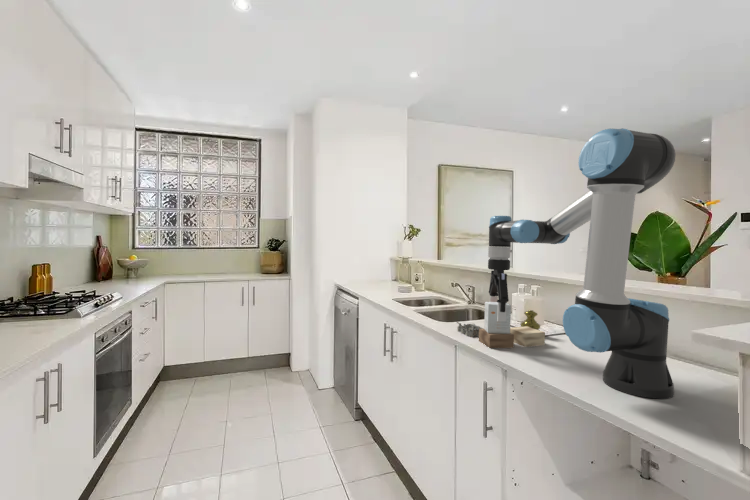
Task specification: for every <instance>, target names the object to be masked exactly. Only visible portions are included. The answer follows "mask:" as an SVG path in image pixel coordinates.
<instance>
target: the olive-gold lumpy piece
mask: <svg viewBox="0 0 750 500" xmlns="http://www.w3.org/2000/svg"><path fill="white" fill-rule="evenodd" d="M523 314H524V315H525V316H526V318H525V319H524V321H522V322H521V323H520V327H525V326H527V327H530V328H533V329H537V330H540V329H541V324H540V323H539V322H538V321H536V319H535V317H537V316H538V312H537V311H534V310H531V309H528V310H526V311H524V313H523Z"/></svg>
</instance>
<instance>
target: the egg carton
mask: <svg viewBox="0 0 750 500" xmlns="http://www.w3.org/2000/svg"><path fill="white" fill-rule="evenodd" d="M458 321H459V320H458ZM458 321H456V323H457V324H458V326H456V328H457V332H459V333H460V334H463V335H465V336H466V337H470V336H471V337H472V338H473V337H479V329H484V328H483V327H481V326H479V325H476V324H475V323H467V324H466V323H463V325H462V323H461V322H458ZM471 337H470V338H471Z"/></svg>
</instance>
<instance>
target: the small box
mask: <svg viewBox="0 0 750 500" xmlns="http://www.w3.org/2000/svg"><path fill="white" fill-rule="evenodd" d="M511 309H512V305H511V304H509V303H508V302H507V304H506V322H504V321H497V315H498V302H490V301H485V302H484V319H483V320H484V321H483V322H484V328H483V329H485V330H486V331H487V333H499V334H510V328H511V317H512V316H511V313H512V310H511Z"/></svg>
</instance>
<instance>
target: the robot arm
mask: <svg viewBox="0 0 750 500" xmlns="http://www.w3.org/2000/svg"><path fill="white" fill-rule="evenodd" d="M675 162H676V149H675V147H674V145H673V143H672V142H671V141H670V140H669V139H668V138H666V137H665V136H663V135H660V134H657V133H648V132H642V131H637V130H636V131H635V130H630V129H628V128H607V129H606V128H605V129H602V130H600V131H597V132H596V133H595V134H594V135H592V136H591V137H590V138H589V139H588V140H587V141H586V142H585V143H584V145H583V146H582V148H581V151H580V153H579V156H578V168H579V169H578V170H580V172H581V173H582V175H583V176H585V177H586V178H587V182H586V183H587V184H586V188H587V189H588V190H587V192H585V193H584V194H582V195H581V196H579V197H578V198H577V199H576V200H574V201H572V203H570V204H569V205H567V206H566V207H564V208H563V209H561V210H560V211H558V213H556V214H555V215H554V216H552V217H551V218H549V219H547V220H545V221H542V220H541V221H540V220H537V221H536V220H532V219H519V220H512V217H511V216H509V215H493V216H491V217H490V218H489V226H488V249H487V251H488V253H487V254H488V255H487V256H488V257H487V258H488V261H487V269H489V270H491V271H490V272H491V273H490V281H489V288H488V289H489V290H488V294H489V302H498V315H497V321H504V322H506V304H507V303H508V302H509V301H510V299H509V292H508V291H509V290H508V274H507V273H505V271H510V269H511V260H510V259H511V253H512V252H513V251H512V249H511V247H512V245H511V243H513V244H514V243H517V244H518V243H519V244H546V245H547V244H551V245H557V244H559V245H560V244H563V243H566V242H567V241H568V239H569V238H570V235H571V233H573V231H576V230H577V229H578V228H580V227H582V226H583V225H585V224H586V223H588V222H589V232H588V241H587V242H588V243H587V251H586V262H585V268H584V279H583V288H582V289H581V290H579V291H578V292H577V293H576V294H575V300H574V304H572V305H570V306H568V307H567V309H565V310H564V313H563V315H562V327H563V331H564V333H565V335H566V337H568V339H569V341H570V343H572V344H573V345H574V346H575V347H576V348H578V349H579V350H582V351H584V352H590V353H606V352H611V354H610V356H609V358H608V360H607V363H606V365H605V367H604V369H603V371H602V381H603V382H604V384H605V385H608V386H609V387H610V388H613V389H615V390H618V391H620V392H622V393H626V394H629V395H633V396H636V397H643V398H648V399H649V398H650V399H661V400H662V399H669V398H673V396H674V395H675V394H674V393H675V385H674V381H673V379H672V376H671V372H670V370H669V368H668V364H667V356H668V337H669V336H668V334H669V322H670V317H669V308H668V306H667V305H666V304H664V303H658V302H653V301H647V300H642V299H635V298H630V297H628V296H626V295H625V285H626V277H627V272H628V271H627V270H628V263H629V262H628V261H629V252H630V243H631V235H632V234H631V233H632V227H633V217H634V210H635V201H636V195H640V194H642V193H643V192H645V191H647V190H650V189H651V188H652V187H653V186H656V185H657V184H658V183H659V182H661V181H662V180H663V179H664V178H666V177H667V175H668V174H669V173H670V172H671V170H672V169H673V167H674V164H675Z"/></svg>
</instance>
